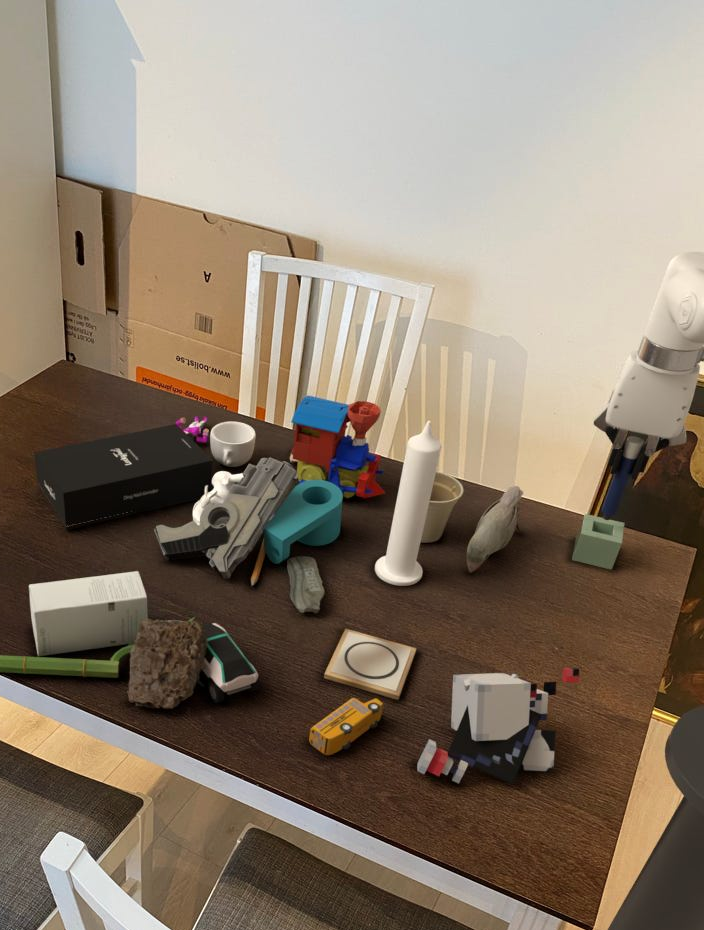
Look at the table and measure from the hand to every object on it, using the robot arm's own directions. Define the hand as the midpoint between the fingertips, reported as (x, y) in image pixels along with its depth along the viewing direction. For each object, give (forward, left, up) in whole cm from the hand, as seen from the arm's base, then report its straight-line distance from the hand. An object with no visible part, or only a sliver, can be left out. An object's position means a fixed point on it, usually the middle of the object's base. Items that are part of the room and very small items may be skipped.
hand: (623, 471), depth 137 cm
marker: (0, 0, -8) cm, 8 cm away
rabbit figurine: (+55, +18, -15) cm, 60 cm away
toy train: (+42, -1, -15) cm, 44 cm away
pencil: (+49, +12, -14) cm, 52 cm away
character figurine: (+70, -5, -15) cm, 72 cm away
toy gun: (+61, +21, -8) cm, 65 cm away
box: (+73, +16, -15) cm, 76 cm away
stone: (+36, +27, -14) cm, 47 cm away
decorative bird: (+15, +6, -15) cm, 22 cm away
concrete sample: (+48, +56, -9) cm, 75 cm away
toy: (+15, +47, -9) cm, 50 cm away
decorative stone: (+48, -11, -14) cm, 52 cm away
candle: (+27, +18, -15) cm, 36 cm away
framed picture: (+25, +40, -15) cm, 49 cm away
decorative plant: (+73, +60, -12) cm, 96 cm away
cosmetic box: (+56, +45, -11) cm, 73 cm away
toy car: (+43, +49, -15) cm, 67 cm away
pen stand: (0, 0, -15) cm, 15 cm away
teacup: (+61, 0, -15) cm, 63 cm away
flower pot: (+26, +6, -15) cm, 30 cm away
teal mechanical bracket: (+40, +18, -12) cm, 45 cm away
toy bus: (+23, +54, -13) cm, 60 cm away
